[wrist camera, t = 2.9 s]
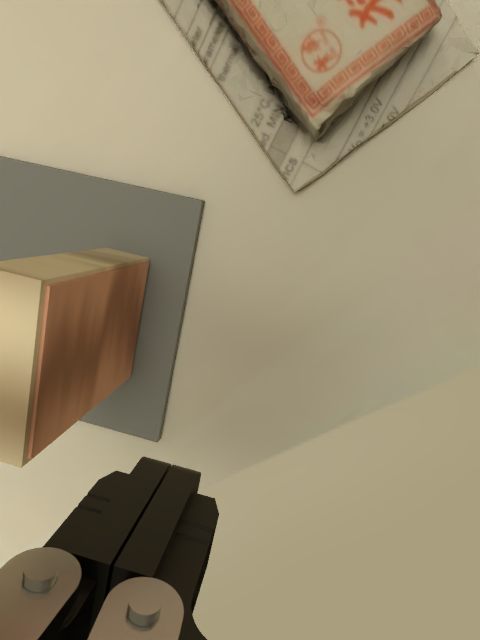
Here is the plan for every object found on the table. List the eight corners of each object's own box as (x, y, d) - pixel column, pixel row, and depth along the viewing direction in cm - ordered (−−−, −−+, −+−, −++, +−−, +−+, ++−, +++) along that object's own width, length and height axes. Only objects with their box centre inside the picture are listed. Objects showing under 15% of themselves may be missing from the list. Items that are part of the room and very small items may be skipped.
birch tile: (107, 247, 25) (-25, 264, 15) (151, 258, 25) (45, 281, 15) (90, 367, 27) (-38, 449, 17) (132, 378, 26) (25, 469, 17)
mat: (-100, 134, 26) (-108, 133, 26) (204, 201, 24) (202, 200, 24) (-107, 363, 29) (-114, 365, 29) (160, 438, 27) (157, 442, 27)
